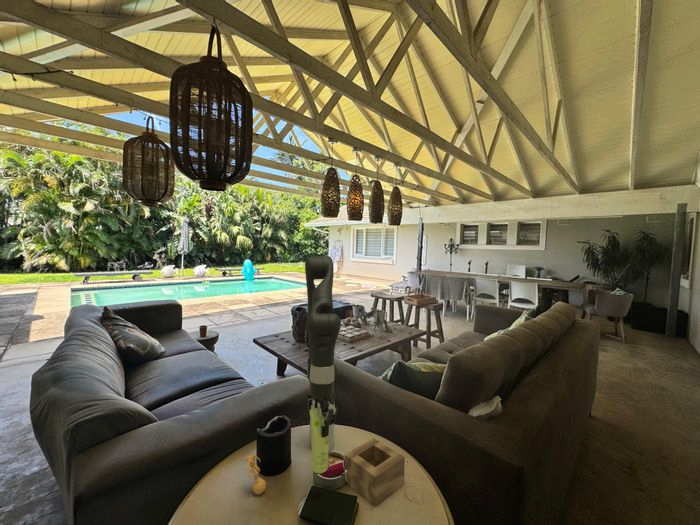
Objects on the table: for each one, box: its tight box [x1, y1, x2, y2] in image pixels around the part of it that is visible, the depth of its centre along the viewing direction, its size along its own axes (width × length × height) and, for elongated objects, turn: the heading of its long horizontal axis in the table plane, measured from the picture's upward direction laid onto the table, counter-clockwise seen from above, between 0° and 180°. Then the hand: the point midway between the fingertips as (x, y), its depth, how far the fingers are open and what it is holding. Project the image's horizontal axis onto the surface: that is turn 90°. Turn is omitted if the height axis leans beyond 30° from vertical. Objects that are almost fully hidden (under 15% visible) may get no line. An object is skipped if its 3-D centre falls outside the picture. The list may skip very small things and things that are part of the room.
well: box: [344, 437, 406, 508], centre depth 98 cm, size 14×14×9 cm
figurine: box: [246, 453, 267, 495], centre depth 94 cm, size 8×6×12 cm
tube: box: [309, 408, 330, 474], centre depth 92 cm, size 6×5×20 cm
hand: (320, 432), depth 92 cm, fingers closed on tube, 4 cm apart
